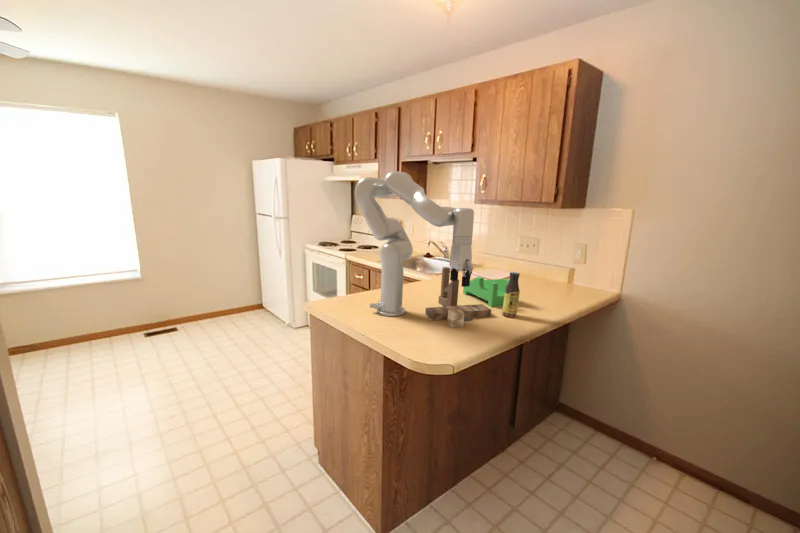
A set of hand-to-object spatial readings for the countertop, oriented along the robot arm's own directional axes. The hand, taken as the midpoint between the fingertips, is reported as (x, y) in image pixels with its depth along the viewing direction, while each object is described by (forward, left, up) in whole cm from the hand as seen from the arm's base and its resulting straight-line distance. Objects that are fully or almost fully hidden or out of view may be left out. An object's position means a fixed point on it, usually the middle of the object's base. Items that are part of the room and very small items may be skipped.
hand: (459, 283), depth 140 cm
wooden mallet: (+8, +24, -18) cm, 31 cm away
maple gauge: (+2, 0, -18) cm, 18 cm away
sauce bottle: (+30, +6, -18) cm, 35 cm away
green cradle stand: (+33, +31, -18) cm, 49 cm away
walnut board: (+7, +11, -18) cm, 22 cm away
